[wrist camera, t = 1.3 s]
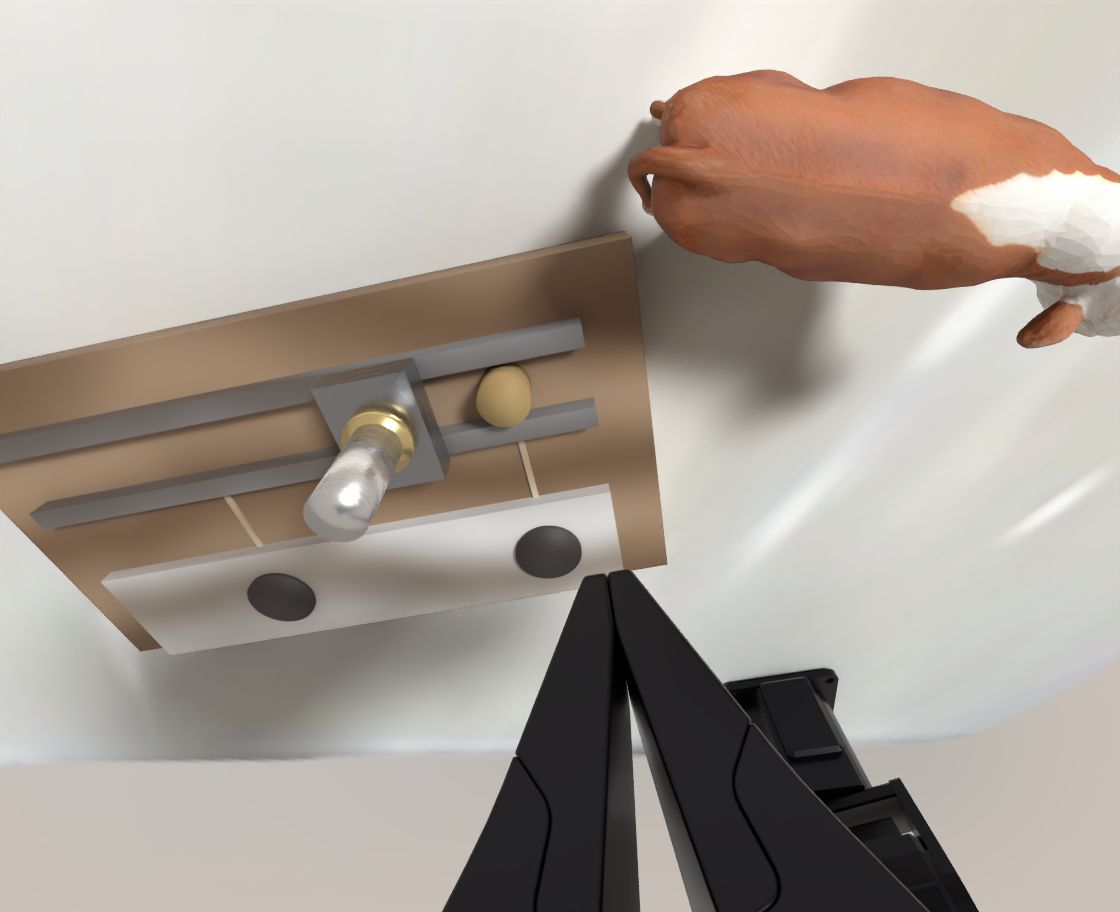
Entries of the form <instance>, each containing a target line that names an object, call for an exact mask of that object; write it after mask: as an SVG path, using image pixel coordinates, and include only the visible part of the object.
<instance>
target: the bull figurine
mask: <svg viewBox="0 0 1120 912" xmlns="http://www.w3.org/2000/svg"><path fill="white" fill-rule="evenodd" d="M650 113H651V115H652V120H653V122H654V123H655V124H656V125H658V126H660V143H661V146H662V147H654V148H651V149H648V150H646V151H644V152H642V153H639V154H637V155H636V156H635V157H634V158H632V159H631V161H630V162H629V166H628V176H629V179H630V181H631V183H632V185H633V186H634V188H635V190H636V191H637V193H638V194H639V195H640V197H641V199H642V206H643V209H644V211H645V212H646V213H647V214H649V215H652V216H654V218H655V220H656V221H657V223H658V224H659V225H660V227H661V228H662V229H663V230H664V231H665V232H666V233H667V234H668V235H669V237H670V238H672V239H673V240H674V241H675V242H676V243H677V244H679V245H680V246H682V247H683V248H685V249H687V250H688V251H690V252H693V253H696V254H701V255H707V256H709V257H712V258H714V259H716V260H719V261H724V262H728V263H744V262H748V261H755V260H757V261H760V262H763V263H765V264H768V265H771V266H775V267H776V268H777V269H779V270H780V271H782V272H784V273H786V274H788V275H790V276H792V277H795V278H798V279H802V280H807V281H835V282H850V283H861V284H871V285H884V286H898V287H906V288H911V289H917V290H938V289H948V288H955V287H967V286H975V285H978V284H981V283H984V282H987V281H991V280H995V279H1001V278H1011V277H1020V278H1026V279H1029V280H1031V281H1032V282H1034V283H1035V284H1036V286H1037V297H1038V299H1039V301H1040V304H1041V305H1042V307H1043V308H1044V309H1045V310H1044V311H1043V312H1041V313H1040V314H1038V315H1037V316H1036V317H1035V318H1033V319H1032V320H1031V321H1030V322H1029V323H1028V324H1027V325H1026V326H1025V327H1024V328H1023V329H1021V330H1020V331H1019V333H1018V335H1017V343H1018V344H1020V345H1021V346H1022V347H1025V348H1039V347H1044V346H1049V345H1052V344H1056V343H1059V342H1061V341H1063V340H1065V339H1067V338H1068V337H1069V336H1070V335H1071V334H1072V333H1073V332H1075V333H1079V334H1082V335H1084V336H1088V337H1093V336H1097V335H1099V336H1107V337H1109V336H1117V335H1120V175H1118V174H1117V173H1115V172H1113V171H1111V170H1110V169H1108V168H1105V167H1102V166H1099V165H1096V164H1095V163H1093V162H1092V160H1091V159H1090V158H1089V157H1088V156H1087V155H1085V154H1084V153H1083V152H1082V151H1080V150H1079V149H1078V148H1076V147H1075V146H1074V145H1072V144H1071V143H1070V142H1069V141H1068V140H1067V139H1066V138H1065V137H1064V136H1063V135H1062V134H1061V133H1060V132H1058V131H1057V130H1055V129H1053V128H1051V127H1049V126H1048V125H1046V124H1043V123H1041V122H1038V121H1036V120H1032V119H1029V118H1026V117H1022V116H1019V115H1015V114H1010V113H1005V112H1002V111H1000V110H998V109H996V108H994V107H992V106H990V105H988V104H986V103H984V102H982V101H980V100H978V99H976V98H973V97H970V96H966V95H963V94H959V93H955V92H951V91H947V90H942V89H937V88H932V87H928V86H925V85H922V84H919V83H916V82H913V81H910V80H905V79H899V78H894V77H870V78H859V79H854V80H849V81H846V82H843V83H840V84H837V85H834V86H831V87H828V88H826V89H823V90H819V89H816V88H813V87H811V86H809V85H807V84H805V83H803V82H801V81H800V80H798V79H796V78H795V77H793V76H792V75H790V74H787V73H785V72H781V71H776V70H757V71H751V72H746V73H741V74H737V75H732V76H714V77H710V78H706V79H703V80H701V81H699V82H697V83H694V84H692V85H690V86H688V87H685V88H683V89H681V90H679V91H678V92H677V93H675V94H674V95H673V96H672V97H671V98H670V99H668V100H661V101H654V102H653V103H652V104H651V106H650ZM648 174H653V175H654V177H653V181H652V187H651V186H650V184H649V182H648V180H647V175H648Z"/></svg>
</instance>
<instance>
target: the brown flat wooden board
mask: <svg viewBox="0 0 1120 912" xmlns="http://www.w3.org/2000/svg"><path fill="white" fill-rule="evenodd" d="M412 357H413V358H414V360H415V363H416V366H417V369H418V371H419V374H420V377H421V380H422V382H423V385H424V388H425V391H426V393H427V396H428V399H429V402H430V404H431V407H432V410H433V413H434V415H435V418H436V421H437V424H438V426H439V429H440V432H441V435H442V437H443V440H444V443H445V445H446V448H447V451H448V454H449V456H450V459H451V462H450V466H449V469H448V472H447V476H446V479H443V480H437V481H432V482H426V483H421V484H415V485H410V486H404V487H399V488H393V489H388V490H385V493H384V495H383V497H382V499H381V501H380V503H379V506H378V508H377V510H376V512H375V514H374V516H373V519H372V521H371V523H370V525H369V527H368V529H367V531H366V533H365V534H364V535H363V536H362V537H360V538H359V539H357V540H354V541H350V542H335V541H331V540H327V539H325V538H323V537H321V536H319V535H317V534H316V533H315V532H313V531H312V530H311V529H310V528H309V526H308V525H307V523H306V522H305V519H304V516H303V509H304V505H305V503H306V502H307V500H308V499H309V497H310V496H311V494H312V493H313V491H314V490H315V488H316V487H317V485H318V484H319V483H320V481H321V480H322V478H323V477H324V475H325V474H326V472H327V471H328V469H329V468H330V466H331V465H332V463H333V462H334V460H335V459H336V457H337V456H338V454H339V453H340V451H341V450H340V448H339V446H338V444H337V442H336V440H335V438H334V436H333V434H332V432H331V430H330V428H329V426H328V424H327V422H326V420H325V418H324V416H323V414H322V412H321V410H320V408H319V406H318V404H317V402H316V400H315V398H314V396H313V394H312V392H311V389H312V388H313V387H314V386H315V385H316V384H317V383H318V382H319V381H320V380H321V379H322V378H323V377H324V376H325V375H328V374H333V373H338V372H343V371H348V370H353V369H358V368H363V367H368V366H373V365H378V364H382V363H387V362H392V361H397V360H402V359H407V358H412ZM0 510H1V511H2V512H3V513H4V514H5V515H6V516H7V517H8V518H9V519H10V520H11V521H12V522H13V523H14V524H15V525H16V526H17V527H18V528H19V529H20V530H21V531H22V532H23V533H24V534H25V535H26V536H27V537H28V538H29V539H30V540H31V541H32V542H33V543H34V544H35V545H36V546H37V547H38V548H39V549H40V550H41V551H42V552H43V553H44V554H45V555H46V556H47V557H48V558H49V559H50V560H51V561H52V562H53V563H54V564H55V565H56V566H57V567H58V568H59V569H60V570H61V571H62V572H63V573H64V574H65V575H66V576H67V578H68V579H69V580H70V581H71V582H72V583H73V584H74V585H75V586H76V587H77V588H78V589H79V590H80V591H81V592H82V593H83V594H84V595H85V596H86V597H87V598H88V599H89V600H90V601H91V602H92V603H93V604H94V605H95V606H96V607H97V608H98V609H99V610H100V611H101V612H102V613H103V614H104V615H105V616H106V617H107V618H108V619H109V620H110V621H111V622H112V623H113V624H114V625H115V626H116V627H117V628H118V629H119V630H120V631H121V632H122V633H123V634H124V635H125V636H126V637H127V638H128V639H129V640H130V641H131V642H132V643H133V644H134V645H135V646H136V647H137V648H138V649H139V650H140V651H146V650H152V649H158V648H163V649H164V650H165V651H166V652H167V653H168V654H169V655H170V656H172V655H178V654H184V653H190V652H197V651H203V650H209V649H215V648H221V647H227V646H233V645H239V644H246V643H252V642H258V641H264V640H270V639H276V638H282V637H288V636H294V635H301V634H307V633H313V632H319V631H325V630H331V629H337V628H343V627H349V626H356V625H362V624H368V623H374V622H380V621H386V620H392V619H398V618H404V617H411V616H417V615H423V614H429V613H435V612H441V611H447V610H453V609H460V608H466V607H472V606H478V605H484V604H490V603H496V602H502V601H508V600H515V599H521V598H527V597H533V596H539V595H545V594H551V593H557V592H563V591H570V590H576V589H579V587H580V584H581V582H582V580H583V578H584V577H585V576H588V575H594V574H600V573H605V574H606V575H607V577H608V573H609V572H612V571H618V570H624V569H629V570H637V569H643V568H649V567H655V566H661V565H667V557H666V548H665V539H664V529H663V520H662V511H661V502H660V493H659V484H658V474H657V465H656V456H655V447H654V438H653V429H652V419H651V410H650V401H649V392H648V383H647V374H646V364H645V355H644V346H643V337H642V328H641V319H640V310H639V300H638V291H637V282H636V273H635V264H634V255H633V245H632V237H631V236H630V235H629V234H627V233H626V232H625V231H622V232H617V233H613V234H608V235H603V236H599V237H594V238H589V239H585V240H580V241H575V242H571V243H566V244H561V245H557V246H552V247H547V248H543V249H538V250H533V251H529V252H524V253H519V254H515V255H510V256H505V257H501V258H496V259H491V260H487V261H482V262H477V263H472V264H468V265H463V266H458V267H454V268H449V269H444V270H440V271H435V272H430V273H426V274H421V275H416V276H412V277H407V278H402V279H398V280H393V281H388V282H384V283H379V284H374V285H370V286H365V287H360V288H356V289H351V290H346V291H342V292H337V293H332V294H328V295H323V296H318V297H314V298H309V299H304V300H300V301H295V302H290V303H285V304H281V305H276V306H271V307H267V308H262V309H257V310H253V311H248V312H243V313H239V314H234V315H229V316H225V317H220V318H215V319H211V320H206V321H201V322H197V323H192V324H187V325H183V326H178V327H173V328H169V329H164V330H159V331H155V332H150V333H145V334H141V335H136V336H131V337H127V338H122V339H117V340H112V341H108V342H103V343H98V344H94V345H89V346H84V347H80V348H75V349H70V350H66V351H61V352H56V353H52V354H47V355H42V356H38V357H33V358H28V359H24V360H19V361H14V362H10V363H5V364H0Z"/></svg>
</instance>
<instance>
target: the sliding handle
mask: <svg viewBox="0 0 1120 912" xmlns="http://www.w3.org/2000/svg"><path fill="white" fill-rule="evenodd" d="M311 392H312V394H313V396H314V398H315V400H316V402H317V404H318V406H319V408H320V410H321V412H322V414H323V416H324V418H325V420H326V422H327V424H328V426H329V428H330V430H331V432H332V434H333V436H334V438H335V440H336V442H337V444H338V446H339V448H340V450H341V451H340V453H339V454H338V456H337V457H336V459H335V460H334V462H333V463H332V465H331V466H330V468H329V469H328V471H327V472H326V474H325V475H324V477H323V478H322V480H321V481H320V483H319V484H318V485H317V487H316V488H315V490H314V491H313V493H312V494H311V496H310V497H309V499H308V500H307V502H306V503H305V505H304V509H303V516H304V519H305V522H306V523H307V525H308V526H309V528H310V529H311V530H312V531H313V532H315V533H316V534H317V535H319V536H321V537H323V538H325V539H327V540H331V541H335V542H350V541H354V540H357V539H359V538H360V537H362V536H363V535H364V534H365V533H366V531H367V529H368V527H369V525H370V523H371V521H372V519H373V516H374V514H375V512H376V510H377V508H378V506H379V503H380V501H381V499H382V497H383V495H384V493H385V490H388V489H393V488H399V487H404V486H410V485H415V484H421V483H426V482H432V481H437V480H443V479H446V476H447V472H448V469H449V466H450V462H451V459H450V456H449V454H448V451H447V448H446V445H445V443H444V440H443V437H442V435H441V432H440V429H439V426H438V424H437V421H436V418H435V415H434V413H433V410H432V407H431V404H430V402H429V399H428V396H427V393H426V391H425V388H424V385H423V382H422V380H421V377H420V374H419V371H418V369H417V366H416V363H415V360H414V358H413V357H412V358H407V359H402V360H397V361H392V362H387V363H382V364H378V365H373V366H368V367H363V368H358V369H353V370H348V371H343V372H338V373H333V374H328V375H325V376H324V377H323V378H322V379H321V380H320V381H319V382H318V383H317V384H316V385H315V386H314V387H313V388H312V389H311Z"/></svg>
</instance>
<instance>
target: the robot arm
mask: <svg viewBox="0 0 1120 912" xmlns="http://www.w3.org/2000/svg"><path fill="white" fill-rule="evenodd" d="M626 682H627V683H626ZM837 685H838V677H837V675H836V673H835V671H834V670H831V669H826V670H819V671H812V672H805V673H799V674H792V675H785V676H778V677H771V678H764V679H758V680H751V681H744V682H737V683H731V684H729V685H727V686H726V687H725V686H724V685H723V684H722V682H721V681H720V680H719V679H718V677H717V676H716V675H715V674H714V673H713V671H712V670H711V669H710V668H709V666H708V665H707V664H706V663H705V661H704V660H703V659H702V658H701V656H700V655H699V654H698V653H697V651H696V650H695V649H694V648H693V646H692V645H691V644H690V643H689V641H688V640H687V639H686V638H685V636H684V635H683V634H682V633H681V631H680V630H679V629H678V628H677V626H676V625H675V624H674V623H673V621H672V620H671V619H670V618H669V617H668V615H667V614H666V613H665V612H664V610H663V609H662V608H661V607H660V605H659V604H658V603H657V602H656V600H655V599H654V598H653V597H652V595H651V594H650V593H649V592H648V590H647V589H646V588H645V587H644V585H643V584H642V583H641V582H640V580H639V579H638V578H637V577H636V575H635V574H634V573H633V572H632V571H631V570H629V569H624V570H618V571H612V572H609V573H608V577H607V575H606V574H605V573H600V574H594V575H588V576H585V577H584V578H583V580H582V582H581V584H580V587H579V590H578V592H577V595H576V597H575V600H574V602H573V605H572V608H571V610H570V613H569V615H568V618H567V620H566V623H565V626H564V628H563V631H562V633H561V636H560V639H559V641H558V644H557V646H556V649H555V651H554V654H553V657H552V659H551V662H550V664H549V667H548V669H547V672H546V675H545V677H544V680H543V682H542V685H541V687H540V690H539V693H538V695H537V698H536V700H535V703H534V705H533V708H532V711H531V713H530V716H529V718H528V721H527V723H526V726H525V729H524V731H523V734H522V736H521V739H520V742H519V744H518V747H517V749H516V752H515V753H516V756H517V757H513V759H512V762H511V764H510V767H509V769H508V772H507V774H506V777H505V780H504V782H503V785H502V787H501V790H500V792H499V794H498V796H497V799H496V801H495V804H494V806H493V808H492V811H491V813H490V815H489V818H488V820H487V822H486V825H485V827H484V829H483V831H482V833H481V835H480V837H479V839H478V841H477V843H476V845H475V847H474V849H473V851H472V853H471V855H470V858H469V860H468V862H467V864H466V866H465V868H464V870H463V872H462V874H461V876H460V878H459V880H458V881H457V883H456V885H455V887H454V889H453V891H452V893H451V895H450V897H449V899H448V901H447V903H446V905H445V907H444V909H443V911H442V912H640V900H639V899H640V898H639V881H638V880H639V879H638V859H637V839H636V819H635V800H634V780H633V761H632V741H631V722H630V707H629V696H630V701H631V705H632V708H633V712H634V716H635V719H636V723H637V726H638V729H639V733H640V736H641V740H642V743H643V746H644V750H645V753H646V757H647V760H648V763H649V767H650V770H651V773H652V777H653V780H654V784H655V787H656V790H657V794H658V797H659V801H660V804H661V808H662V811H663V814H664V818H665V821H666V825H667V828H668V831H669V835H670V838H671V842H672V845H673V848H674V852H675V855H676V859H677V862H678V865H679V869H680V872H681V876H682V879H683V882H684V886H685V889H686V893H687V896H688V899H689V903H690V906H691V910H692V912H979V911H978V909H977V908H976V906H975V904H974V902H973V900H972V899H971V897H970V895H969V893H968V891H967V890H966V888H965V886H964V884H963V883H962V881H961V879H960V878H959V876H958V874H957V872H956V871H955V869H954V867H953V866H952V864H951V862H950V861H949V859H948V857H947V856H946V854H945V852H944V851H943V849H942V847H941V846H940V844H939V842H938V841H937V839H936V837H935V836H934V834H933V832H932V831H931V829H930V827H929V826H928V824H927V823H926V821H925V820H924V818H923V816H922V814H921V813H920V811H919V809H918V808H917V806H916V804H915V803H914V801H913V799H912V798H911V796H910V794H909V793H908V791H907V789H906V788H905V786H904V784H903V783H902V781H901V780H900V778H896V779H893V780H889V783H886V784H883V785H879V786H876V787H872V786H871V784H870V782H869V780H868V778H867V776H866V774H865V772H864V771H863V769H862V767H861V765H860V763H859V761H858V759H857V757H856V755H855V753H854V751H853V749H852V748H851V746H850V744H849V742H848V740H847V738H846V736H845V734H844V732H843V730H842V729H841V727H840V725H839V723H838V721H837V719H836V717H835V715H834V713H833V709H834V703H835V697H836V691H837ZM627 686H628V689H627ZM628 691H629V696H628ZM911 831H912V832H913V834H914V836H913V835H911V834H905V835H901V834H904V833H907V832H911Z"/></svg>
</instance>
